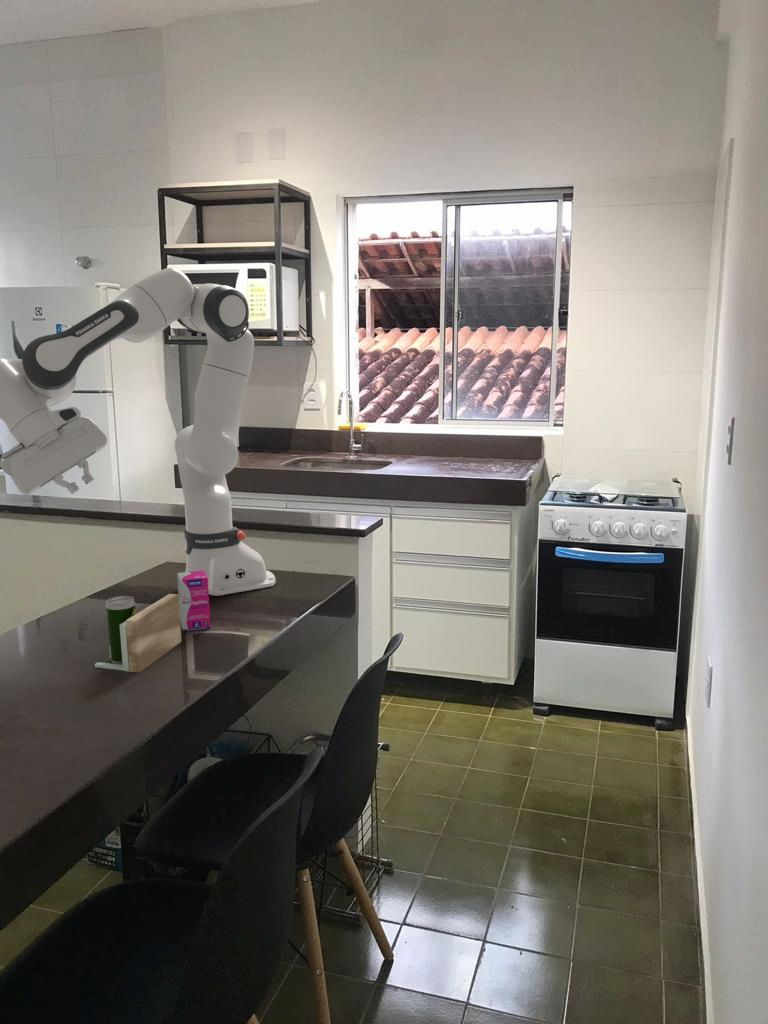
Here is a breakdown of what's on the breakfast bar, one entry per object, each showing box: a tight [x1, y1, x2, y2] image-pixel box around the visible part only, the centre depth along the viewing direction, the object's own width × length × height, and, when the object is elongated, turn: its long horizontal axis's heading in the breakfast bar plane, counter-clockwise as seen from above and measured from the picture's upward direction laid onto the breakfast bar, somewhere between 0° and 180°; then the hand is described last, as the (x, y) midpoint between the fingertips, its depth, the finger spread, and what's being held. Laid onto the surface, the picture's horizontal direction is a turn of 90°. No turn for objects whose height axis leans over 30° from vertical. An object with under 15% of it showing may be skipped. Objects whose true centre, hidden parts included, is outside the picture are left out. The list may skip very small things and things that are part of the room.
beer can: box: [105, 595, 137, 665], centre depth 160 cm, size 5×5×12 cm
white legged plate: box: [94, 621, 130, 672], centre depth 161 cm, size 7×10×9 cm
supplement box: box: [176, 571, 211, 632], centre depth 178 cm, size 6×6×12 cm
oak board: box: [126, 593, 182, 673], centre depth 162 cm, size 2×16×10 cm, turn 165°
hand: (83, 486), depth 172 cm, fingers open, 2 cm apart
